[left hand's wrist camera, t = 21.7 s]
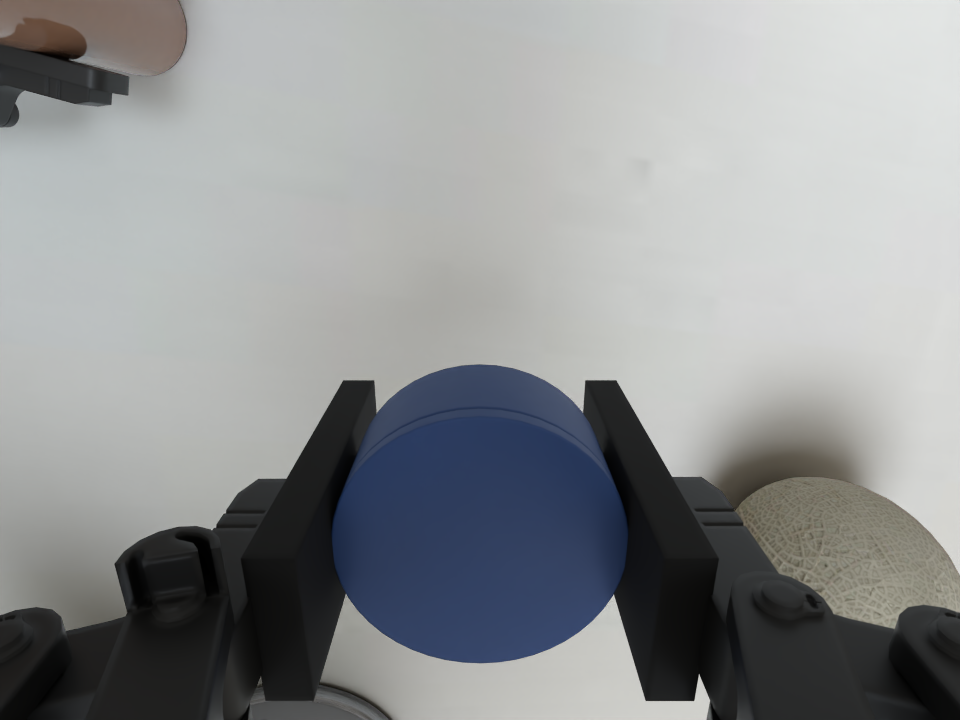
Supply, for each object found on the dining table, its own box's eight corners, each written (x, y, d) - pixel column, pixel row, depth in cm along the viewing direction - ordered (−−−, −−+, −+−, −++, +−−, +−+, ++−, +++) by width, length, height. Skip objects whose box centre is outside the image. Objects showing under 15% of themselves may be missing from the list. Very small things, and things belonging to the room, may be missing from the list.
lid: (318, 515, 13) (283, 595, 11) (429, 317, 11) (417, 361, 9) (521, 608, 14) (530, 701, 11) (650, 436, 12) (690, 503, 10)
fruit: (751, 620, 39) (909, 889, 25) (660, 504, 36) (780, 737, 21) (898, 539, 37) (1163, 783, 22) (814, 408, 33) (1061, 596, 19)
